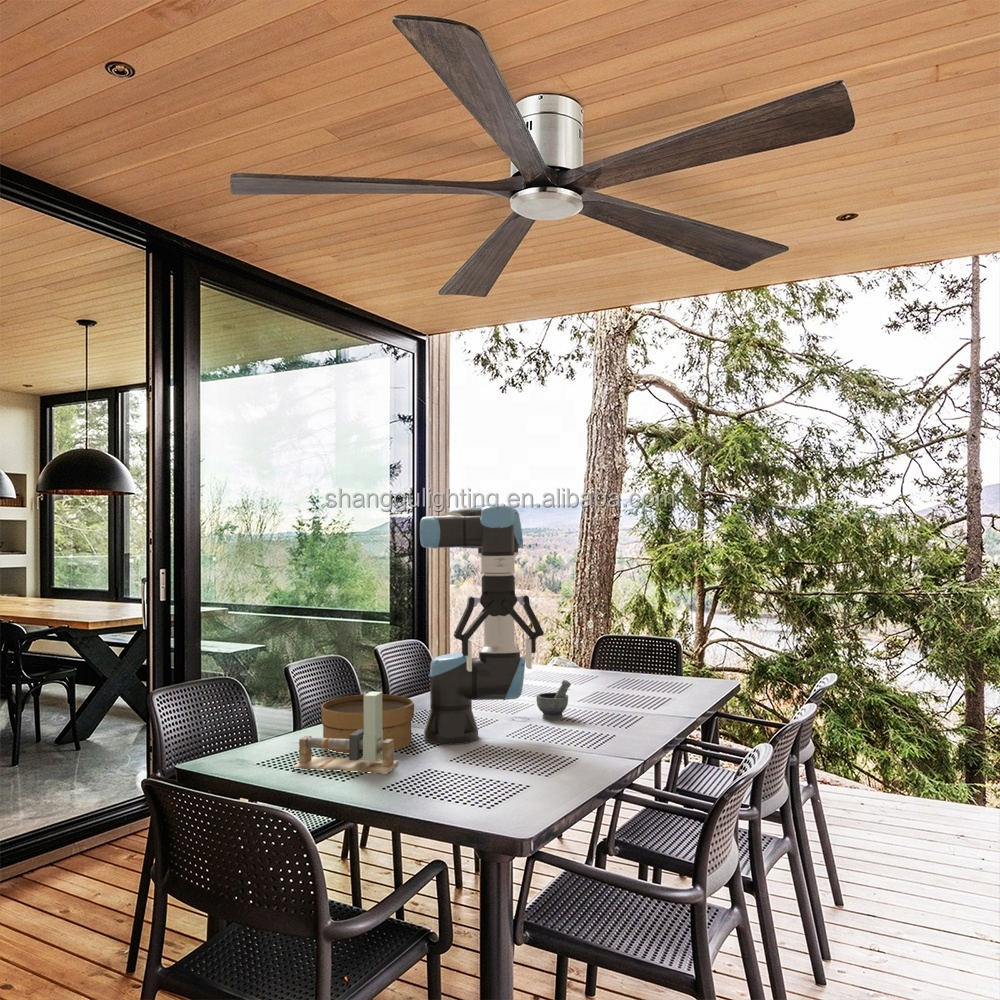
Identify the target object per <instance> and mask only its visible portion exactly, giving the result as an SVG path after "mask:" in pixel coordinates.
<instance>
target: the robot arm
mask: <svg viewBox="0 0 1000 1000" xmlns="http://www.w3.org/2000/svg"><path fill="white" fill-rule="evenodd" d="M419 540H420V541H419V542H420V545H421V547H422V548H427V549H450V548H451V549H453V548H460V549H477V554H478V556H479V557H480V558H481V564H480V565H481V566H480V567H481V569H480V570H481V571H480V572H481V573H482V574H483V575H482V576H481V594H480V597H473V596H471V595H469V596H468V597H467V600H466V601H467V603H466V607H465V609H464V611H463V613H462V616H461V618H460V620H459V622H458V624H457V626H456V628H455V631H454V633H453V637H454V638H455V639H456V640H459V641H461V651H460V652H453V653H447V654H443V655H439V656H436V657H434V658H433V659H432V660H431V661H430V669H429V674H428V675H429V678H430V679H429V682H430V683H429V685H430V687H429V689H430V690H429V691H430V693H429V696H430V698H429V699H430V700H429V701H430V702H429V704H430V705H429V706H430V709H429V715H428V716H427V720H426V724H425V728H424V732H423V735H424V737H423V740H424V741H425V742H427V743H430V744H435V745H436V744H437V745H449V746H450V745H463V744H467V743H473V742H474V741H476V740H478V739H479V728H478V725H477V722H476V718H475V716H474V713H473V707H472V706H473V705H472V703H473V702H472V701H495V700H496V701H498V700H503V701H506V700H507V701H508V700H517V699H519V698H520V697H521V695H522V692H523V687H524V679H525V671H526V669H525V668H527V670H528V669H529V670H532V669H533V668H532V666H533V664H532V661H533V660H532V659H533V658H532V657H533V656H532V654H535V653H536V651H537V638H538V637H543V636H544V634H545V633H544V630H543V628H542V626H541V624H540V622H539V620H538V619H537V618H538V617H536V616H537V615H535V612H534V611H533V608H532V606H531V603H530V596H529V595H527V594H522V595H519V596H517V595H516V577H515V576H514V573H515V570H516V569H515V565H516V564H515V558H517V556H518V555H519V549H522V548H523V547H524V537H523V529H522V523H521V518H520V512H519V511H518V510H517V509H516V508H513V507H512V506H508V505H505V506H503V505H502V506H500V505H498V506H497V505H496V506H493V505H491V506H484V507H464V508H458V509H457V508H456V509H454V510H451V511H447V512H443V513H442V514H440V515H439V516H438V515H437V516H436V515H431V516H424V517H422V518H421V519H420V521H419ZM517 602H518V603H519V605H521V606H522V607H523V610H524V611H525V613H526V615H527V617H528V619H529V621H530V624H531V625H532V627H533V628H534V629H533V630H532V628H530V627H529V625H528V624H527V623H526V621H524V620H523V619H522V617H521V616H520V615H519V614H518V612H517V611H516V609H515V606H516V605H517ZM478 604H480V605H481V607H482V608H483V609H481V610H480V612H479V614H478V615H477V617H476V618H475V619H474V621H472V623H471V624H470V625H469V626H468V627H467V629H466V630H465V628H466V626H467V623H468V621H469V619H470V618H471V615H472V614H473V610H474V608H476V607H477V606H478ZM515 622H516V624H517V625H519V627H520V628H521V629H522V630H523V632H525V633H526V635H527V637H526V638H525V639H524V640H525V657H524V656H521V649H519V648H518V647H517V646H516V644H515ZM482 623H483V643H484V644H483V646H482V647H481V648H480V649H479V651H478V657H473V654H472V653H473V651H472V649H473V648H472V646H473V645H472V643H473V642H472V640H470V639H471V637H473V635H474V634H475V632H476V631H477V630H478V629H479V627H480V626H481V624H482ZM463 632H464V633H463Z"/></svg>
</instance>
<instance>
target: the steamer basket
mask: <svg viewBox="0 0 1000 1000" xmlns="http://www.w3.org/2000/svg"><path fill="white" fill-rule="evenodd" d="M364 695H365V694H356V695H355V694H354V695H346V696H340V697H336V698H332V699H329V700H327V701H325V702H323V703H322V704H321V725H322V726H323V727H322V731H323V732H322V733H323V734H322V736H323V737H322V738H333V739H349V735H350V734H352V733H353V732H355V731H356V730H358V729H364ZM414 714H415V703H414V702H413V700H412V699H410V698H408V697H405V696H400V695H394V694H384V693H382V730H383V740H386V739H394V752H395V751H397V750H401V749H404V748H406V747H408V746H409V745H410V744H411V743H412V720H414V718H415V715H414ZM329 750H332V751H336V752H343V753H349V749H329Z"/></svg>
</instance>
